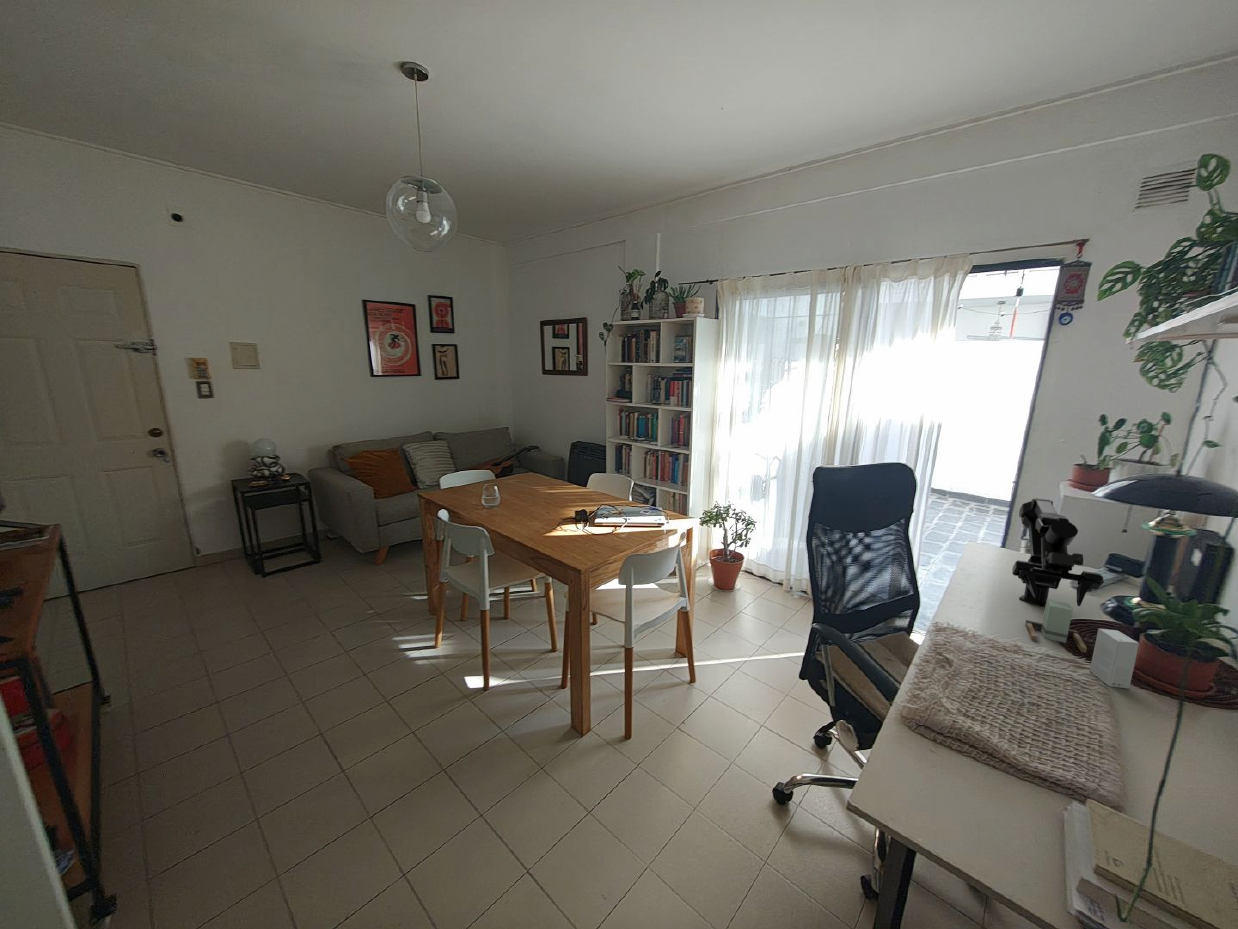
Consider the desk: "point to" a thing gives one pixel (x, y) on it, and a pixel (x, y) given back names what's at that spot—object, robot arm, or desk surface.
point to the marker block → (1056, 621)
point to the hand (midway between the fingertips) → (1056, 601)
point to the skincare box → (1114, 658)
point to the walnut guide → (1071, 633)
